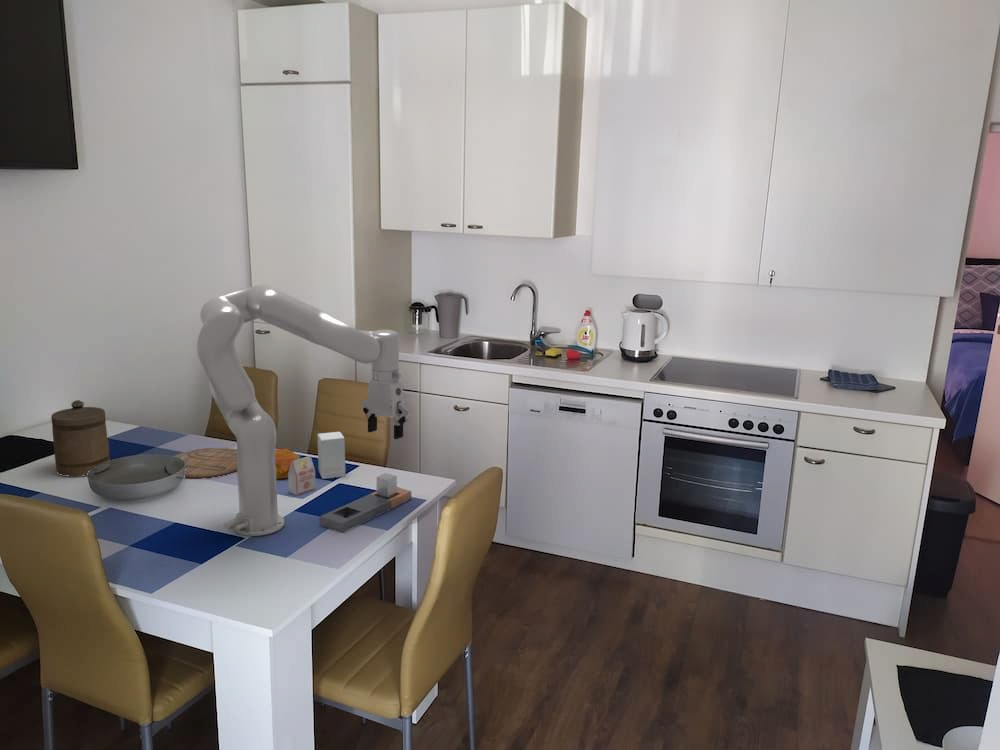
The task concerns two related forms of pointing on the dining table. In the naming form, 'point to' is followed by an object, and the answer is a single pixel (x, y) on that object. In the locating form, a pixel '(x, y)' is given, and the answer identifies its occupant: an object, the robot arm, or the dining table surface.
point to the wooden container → (79, 439)
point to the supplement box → (331, 455)
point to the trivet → (209, 462)
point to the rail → (361, 510)
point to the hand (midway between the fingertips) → (385, 434)
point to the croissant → (284, 462)
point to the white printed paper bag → (301, 476)
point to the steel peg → (386, 486)
